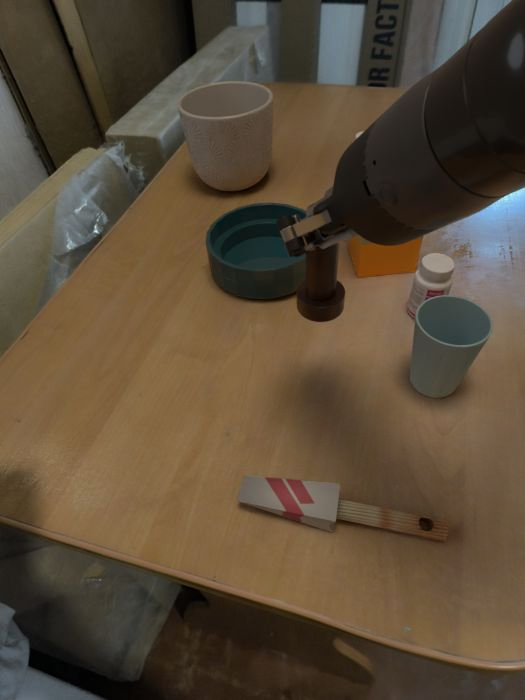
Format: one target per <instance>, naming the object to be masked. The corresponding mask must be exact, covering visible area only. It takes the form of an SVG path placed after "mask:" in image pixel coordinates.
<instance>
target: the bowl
mask: <svg viewBox="0 0 525 700" xmlns="http://www.w3.org/2000/svg"><path fill="white" fill-rule="evenodd" d="M290 214H291V215H292V216H293V215H296V214H297V215H298V217H299V219H300V220H301V219H304V218H305V217H306V210H304V209H303V208H301V207H297V206H294V205H292V204H288V203H279V202H258V203H251V204H246V205H243V206H239V207H236V208H234V209H232V210H229V211H227V212H225V213H223V214H222V215H221V216H219V217H218V218H216V219H215V220H214V221H213V222H212V224H211V225H210V226H209V228H208V230H206V234H205V235H206V236H205V241H204V243H205V247H206V254H207V259H208V264H209V269H210V272H211V275H212V276H213V280H214V281H215V282H216V283H217V284H218V285H219V286H220V287H221V288H222V289H223V290H225V291H227V292H228V293H231V294H233V295H236V296H238V297H241V298H242V297H243V298H248V299H255V300H261V299H277V298H280V297H284V296H288V295H292V294H293V293H297V288H298V286H299V285H300V283H301V282H303V281H304V280H306V253H305V254H303V255H300V256H298V257H295V256H293V257H290V256H289V253H288V251H287V248H286V246H285V243H284V241H283V239H282V236H281V234H280V231H279V229H278V226H277V224H276V221H277V220H278V219H280V218H279V217H281V216H283V215H286V216H287V215H290Z"/></svg>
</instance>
